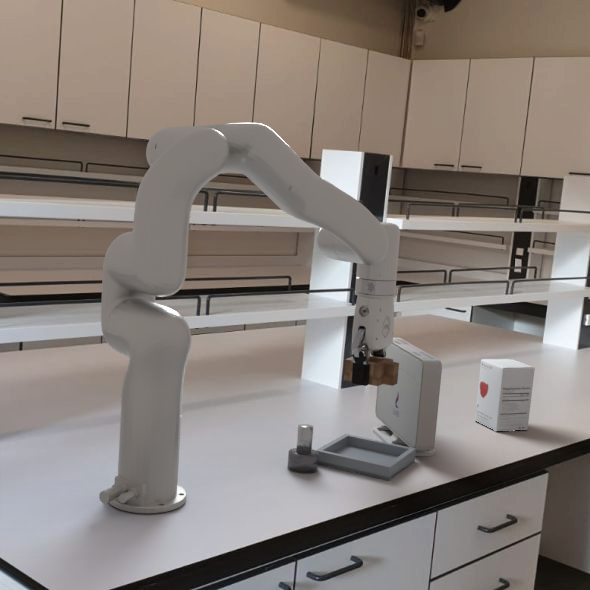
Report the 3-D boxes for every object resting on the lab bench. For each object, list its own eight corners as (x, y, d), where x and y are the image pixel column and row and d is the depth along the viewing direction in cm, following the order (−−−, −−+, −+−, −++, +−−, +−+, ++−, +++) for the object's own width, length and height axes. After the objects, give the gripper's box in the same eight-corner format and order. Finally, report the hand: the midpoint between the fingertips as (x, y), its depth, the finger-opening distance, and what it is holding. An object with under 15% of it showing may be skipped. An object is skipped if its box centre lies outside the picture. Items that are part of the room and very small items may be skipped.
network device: (364, 423, 193) (372, 335, 191) (401, 424, 195) (409, 336, 193) (404, 461, 168) (413, 360, 166) (446, 461, 171) (455, 362, 168)
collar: (401, 381, 165) (403, 360, 165) (388, 388, 159) (390, 366, 159) (358, 373, 169) (359, 353, 169) (343, 380, 163) (345, 359, 163)
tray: (388, 480, 157) (390, 467, 156) (314, 463, 163) (315, 450, 163) (414, 461, 169) (415, 448, 169) (344, 445, 176) (345, 433, 176)
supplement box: (473, 421, 202) (479, 358, 200) (505, 420, 205) (511, 358, 203) (495, 432, 194) (502, 367, 192) (528, 431, 197) (536, 366, 195)
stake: (309, 475, 156) (312, 432, 155) (282, 468, 159) (285, 426, 158) (322, 467, 161) (326, 425, 160) (296, 461, 164) (299, 420, 163)
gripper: (376, 294, 153) (368, 392, 155) (410, 286, 168) (402, 376, 171) (338, 289, 156) (330, 385, 159) (374, 282, 172) (367, 370, 174)
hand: (367, 380), depth 165 cm, fingers closed on collar, 7 cm apart
